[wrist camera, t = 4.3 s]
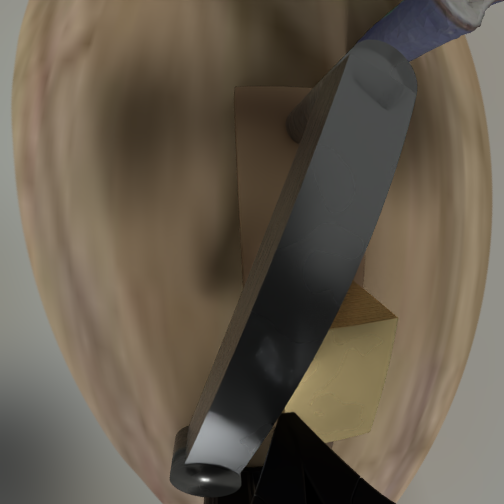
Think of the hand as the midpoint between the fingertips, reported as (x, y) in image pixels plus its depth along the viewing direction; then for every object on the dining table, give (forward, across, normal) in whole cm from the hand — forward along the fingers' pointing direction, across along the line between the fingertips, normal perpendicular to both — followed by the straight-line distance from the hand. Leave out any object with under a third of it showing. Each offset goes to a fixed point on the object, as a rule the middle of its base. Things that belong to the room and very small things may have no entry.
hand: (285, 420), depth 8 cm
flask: (+9, -9, -16) cm, 21 cm away
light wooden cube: (+6, -2, +1) cm, 7 cm away
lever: (+6, 0, -3) cm, 7 cm away
